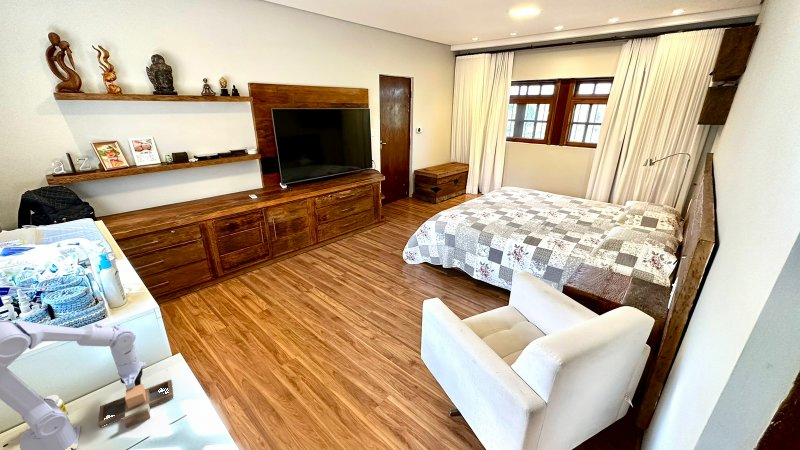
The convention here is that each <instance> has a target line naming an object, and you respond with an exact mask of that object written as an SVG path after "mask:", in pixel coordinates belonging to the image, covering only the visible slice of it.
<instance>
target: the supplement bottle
mask: <svg viewBox="0 0 800 450" xmlns="http://www.w3.org/2000/svg"><path fill="white" fill-rule="evenodd" d="M45 398H49V399H52V400H53V401H54V402H55V404H56V405H57V406H58V407H59V408H60V409H61V410H62V411H63V412H64V413H66V414H67V416H69V411H68V409H67V406H66V405H65V403H64V401H63V400H62V398H60V397H59V395H57V394H52V395H48V396H46V397H45Z"/></svg>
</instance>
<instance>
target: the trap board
mask: <svg viewBox="0 0 800 450" xmlns="http://www.w3.org/2000/svg"><path fill="white" fill-rule="evenodd" d="M172 386H173V381H172V379H168V380H166V381H162V382H160V383H158V384H156V385H155V384H154V385H152V386H150V387H146V388H144V389H145V392H146V402H143V403H141V404H138V405H136V406H133V407H131V408H128V406H127V403H126V400H125V397H126V395H125V396H123V397H120V398H118V399H115V400H112V401H109V402H107V403H105V404H102V405H99V411H98V420H97V425H98V427H101V428H103V427H105V426H104V425H106V424H108V425H110V424H109V423H111V422H113V423H115V422H114V421H116V420H118V421H120V420H119V419H121V418H123V419H121V420H122V421H123V424H124V426H125V428H126V427H127V428H130V427H132V426H134V425H137V424H140V423H141V422H144V421H146V420H148V419H150V418H151V408H152V407H154V406H157V405H160V404H162V403H165V402H167V401H169V399H170V400H172V399H174V398H173V397H174V388H173V387H172ZM160 388H162V389H163V388H164V389H165V388H166V389H167V388H168V390H169V391H168V390H167V391H168V392H169V393H167V394H165V391H166V389H165V391H163V392H160V393H159V392H158V390H159V389H160ZM164 389H163V390H164ZM160 390H161V389H160ZM160 390H159V391H160ZM167 391H166V392H167ZM163 393H164V394H163ZM171 398H172V399H171ZM107 415H110V416H111V415H115V416H113V417H110V418H108V419H105V420H104V418H106V416H107ZM116 422H117V421H116ZM111 424H112V423H111ZM102 426H103V427H102ZM106 426H107V425H106ZM129 426H130V427H129Z"/></svg>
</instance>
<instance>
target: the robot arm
mask: <svg viewBox="0 0 800 450" xmlns="http://www.w3.org/2000/svg"><path fill="white" fill-rule="evenodd" d="M16 323H17V324H16ZM136 338H137V337H136V334H134V333H133V331H131V330H129V329H128V328H127V327H125V326H124V325H121V324H114V325H112V326H106V325H105V326H104V325H102V324H101V323H95V324H93V325H92V324H88V325H85V326H84V327H82V328H78V327H71V326H70V327H69V326H61V325H53V324H45V323H38V322H31V321H25V320H15V322H13V321H11V320H8V319H7V320H6V319H4V320H0V400H1V401H2V402H3V403H5V404H6V405H7V406H8V407H10V408H11V409H12V410H14V411H15V412H16V413H18V414H19V415H20V416H21V419H22V421H24V422H25V423H26V424H27V425H28V426H29V428H30V429H29V430H26V431H25V432H23V433H22V434H21V436H20V440H19V448H20V450H65V449H67V448H68V447H70V446H71V445H72V444H73V443H74V444H77V442H78V443H79V440H78V439H80V434H81V433H80V432H81V426H80V425H78V426H76V427H74V426H73V425H72V423H71V420H70V418H69V417H68V416H69V415H68V416H67V414H66V413H64V412H63V411H62V410H61V409H60V408H59V407H58V406H57V405H56V404H55V402H54V401H53V400H52V399H49V398H46V397H42V396H41V395H39V394H38V393H37V392H36V391H34V390H33V389H32V388H31V387H30V386H28V384H27V383H25V382H24V381H23V380H22V379H21V378H19V377H18V375H16V374H15V373H14V372H12V371H11V370H10V369H9V368H8V367H9V366H10V365H11V364H12V363H13V362H15V361H16V360H17V359H18V358H19V357H20V356H21V355H22V354H24V352H25V351H26V350H27V349H29V350H33V349H34V348H36V347H37V346H38V345H39V344H41V343H42V342H76V343H77V345H78V346H80V347H81V346H83V347H109V348H110V351H111V355H112V358H113V360H114V364H115V366H116V369H117V375H118V376H119V377H120V383H122V384H125V385H124V386H125V388H126V390H127V389H130V388H133V387H135V386H138V385H140V384H142V382H141V381H142V380H141V379H142V377H143V368H145V367H146V365H147V363H146V361H140V357H139V354H138V351H137V348H136V344H135V341H136Z"/></svg>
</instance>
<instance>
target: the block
mask: <svg viewBox="0 0 800 450" xmlns="http://www.w3.org/2000/svg"><path fill="white" fill-rule="evenodd" d="M145 389H146V388H145V387H144V383H141V384H140V385H138V386H135V387H133V388H130V389H127V388H126V389H125V396H126V397H125V396H124V397H125V400H126V403H127V406H128V408H131V407H133V406H136V405H138V404H141V403H143V402H146V392H145Z"/></svg>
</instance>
